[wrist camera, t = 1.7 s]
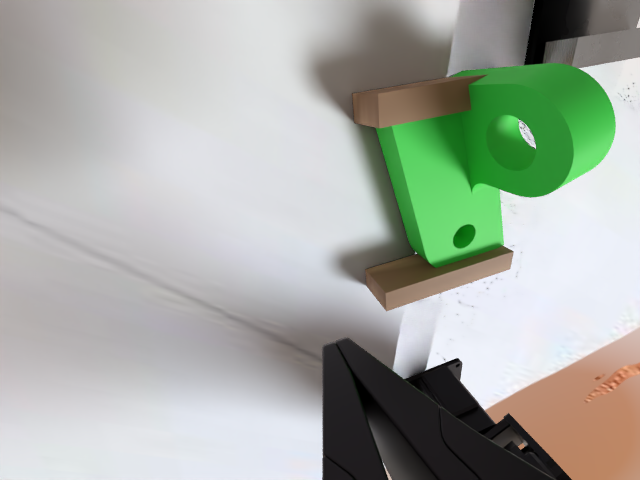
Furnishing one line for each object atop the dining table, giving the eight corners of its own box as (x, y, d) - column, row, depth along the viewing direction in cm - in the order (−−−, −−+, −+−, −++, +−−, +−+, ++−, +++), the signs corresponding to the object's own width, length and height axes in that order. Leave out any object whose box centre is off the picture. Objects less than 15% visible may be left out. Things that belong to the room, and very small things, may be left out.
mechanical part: (372, 117, 17) (480, 134, 10) (462, 70, 17) (625, 56, 10) (417, 270, 23) (503, 346, 16) (482, 233, 23) (593, 292, 17)
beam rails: (478, 250, 24) (510, 269, 22) (366, 286, 22) (386, 311, 20) (504, 67, 18) (551, 63, 16) (352, 93, 16) (378, 93, 14)
